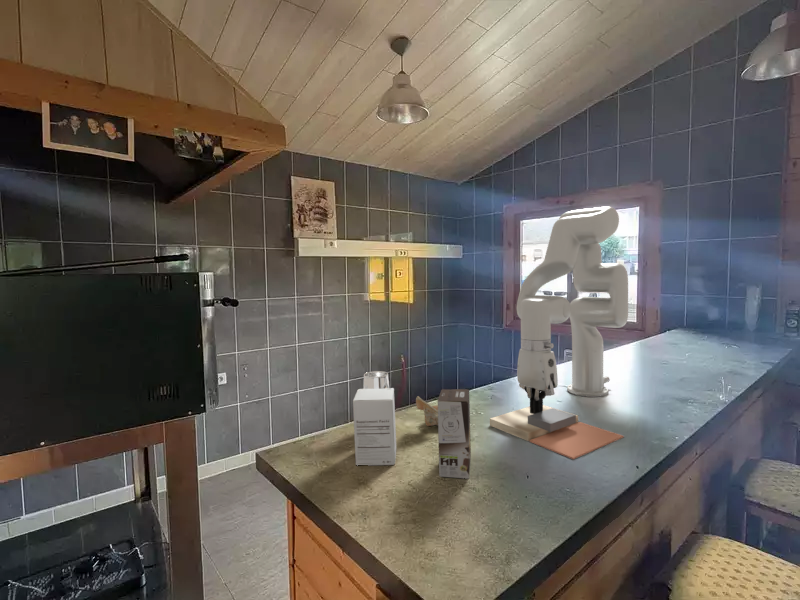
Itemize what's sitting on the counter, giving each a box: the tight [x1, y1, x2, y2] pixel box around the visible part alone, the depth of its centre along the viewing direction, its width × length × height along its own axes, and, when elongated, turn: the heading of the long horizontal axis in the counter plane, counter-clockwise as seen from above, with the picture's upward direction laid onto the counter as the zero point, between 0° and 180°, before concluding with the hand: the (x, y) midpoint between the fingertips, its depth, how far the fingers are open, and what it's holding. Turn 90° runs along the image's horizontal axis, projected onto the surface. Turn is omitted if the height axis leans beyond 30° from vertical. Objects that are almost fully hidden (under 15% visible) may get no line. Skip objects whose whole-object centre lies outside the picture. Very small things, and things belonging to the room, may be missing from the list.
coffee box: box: [437, 388, 472, 480], centre depth 90 cm, size 9×6×16 cm
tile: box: [528, 407, 577, 432], centre depth 109 cm, size 10×7×2 cm
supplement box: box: [352, 387, 397, 467], centre depth 97 cm, size 9×9×15 cm
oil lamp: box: [415, 395, 438, 427], centre depth 118 cm, size 9×21×10 cm, turn 138°
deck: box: [489, 404, 579, 442], centre depth 114 cm, size 20×13×2 cm, turn 123°
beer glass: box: [363, 370, 390, 389], centre depth 114 cm, size 7×7×15 cm
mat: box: [529, 421, 625, 460], centre depth 103 cm, size 20×12×1 cm, turn 123°
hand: (536, 412), depth 113 cm, fingers closed
